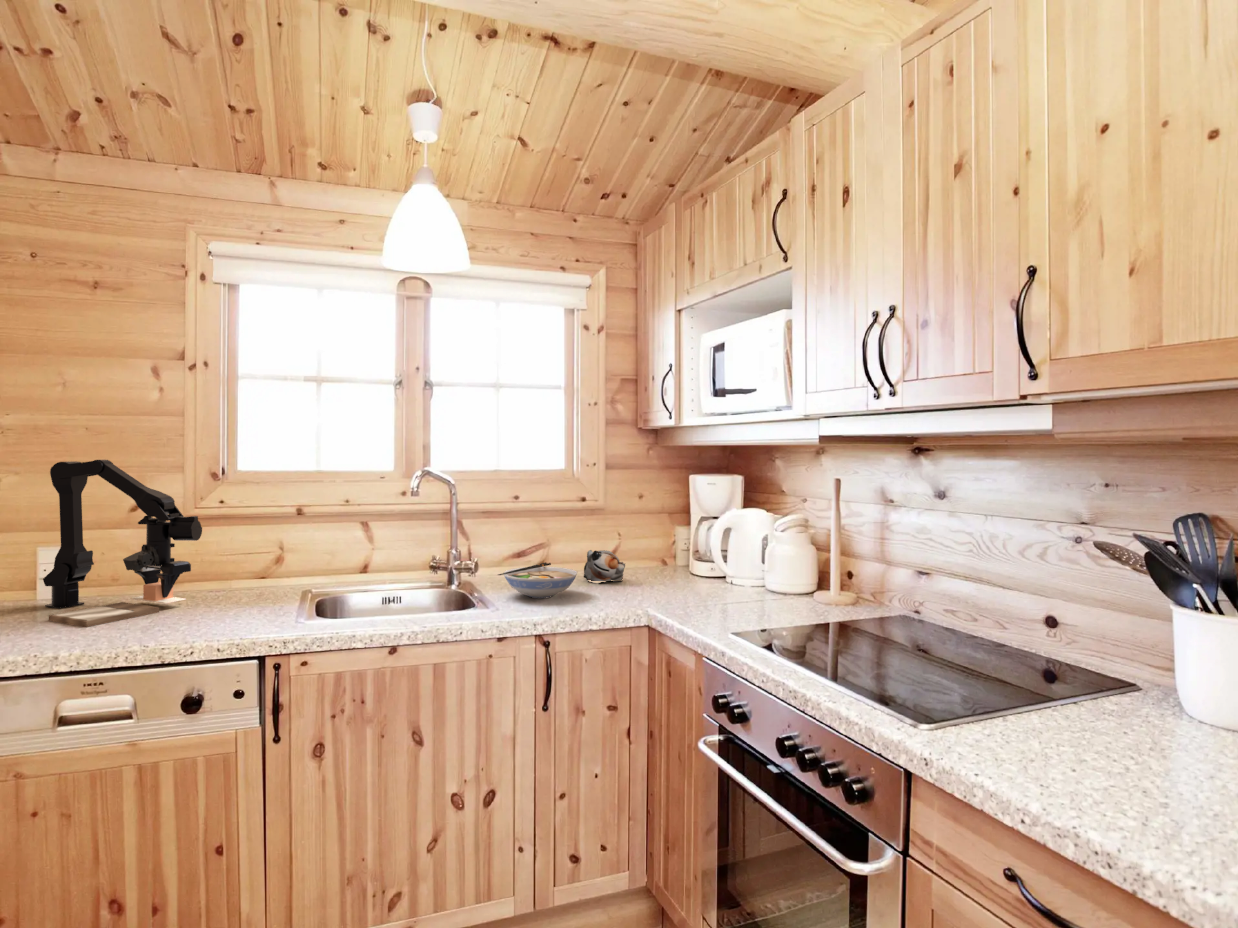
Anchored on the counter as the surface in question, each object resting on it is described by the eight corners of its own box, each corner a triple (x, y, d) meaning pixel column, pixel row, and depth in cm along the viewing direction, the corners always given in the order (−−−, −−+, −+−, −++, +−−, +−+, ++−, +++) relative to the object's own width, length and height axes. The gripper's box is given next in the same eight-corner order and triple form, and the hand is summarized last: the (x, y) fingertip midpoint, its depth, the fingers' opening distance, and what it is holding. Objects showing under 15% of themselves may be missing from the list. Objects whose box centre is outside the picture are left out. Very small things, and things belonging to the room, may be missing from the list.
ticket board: (48, 620, 178) (48, 614, 178) (122, 606, 195) (122, 601, 195) (86, 626, 172) (86, 620, 172) (159, 612, 189) (159, 606, 189)
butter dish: (130, 598, 196) (130, 583, 196) (152, 594, 202) (152, 580, 202) (165, 603, 191) (165, 587, 191) (186, 599, 197) (186, 584, 197)
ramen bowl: (545, 608, 201) (545, 579, 201) (484, 598, 213) (485, 571, 213) (593, 594, 222) (594, 568, 222) (536, 585, 234) (536, 561, 234)
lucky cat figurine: (629, 579, 249) (634, 547, 242) (614, 598, 239) (620, 565, 232) (591, 564, 253) (595, 532, 247) (575, 582, 243) (579, 550, 237)
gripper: (106, 541, 192) (106, 598, 193) (152, 545, 185) (152, 605, 185) (147, 537, 203) (146, 591, 203) (192, 541, 196) (192, 597, 196)
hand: (158, 596), depth 196 cm, fingers closed on butter dish, 5 cm apart
